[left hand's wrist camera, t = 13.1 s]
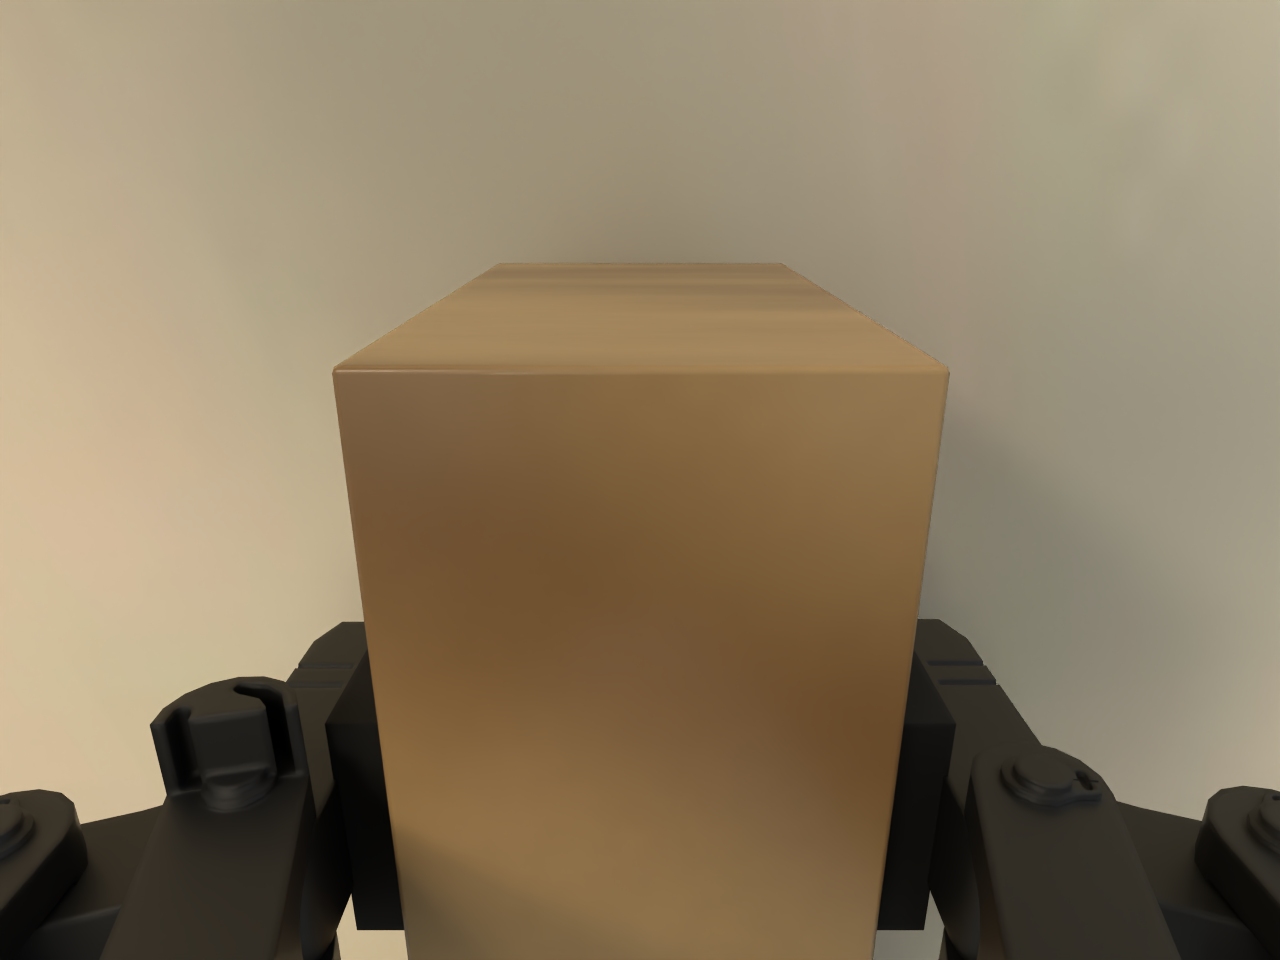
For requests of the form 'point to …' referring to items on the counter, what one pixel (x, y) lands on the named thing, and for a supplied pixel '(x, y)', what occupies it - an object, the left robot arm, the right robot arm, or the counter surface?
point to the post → (640, 608)
